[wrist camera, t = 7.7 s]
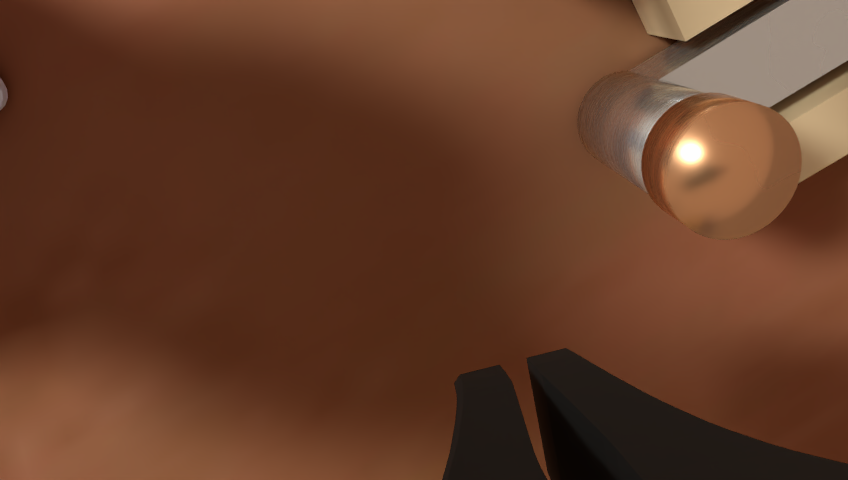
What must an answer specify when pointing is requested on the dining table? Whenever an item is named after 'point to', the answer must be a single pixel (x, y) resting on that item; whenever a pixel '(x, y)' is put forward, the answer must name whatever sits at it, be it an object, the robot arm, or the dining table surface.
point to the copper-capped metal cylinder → (717, 114)
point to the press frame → (804, 109)
